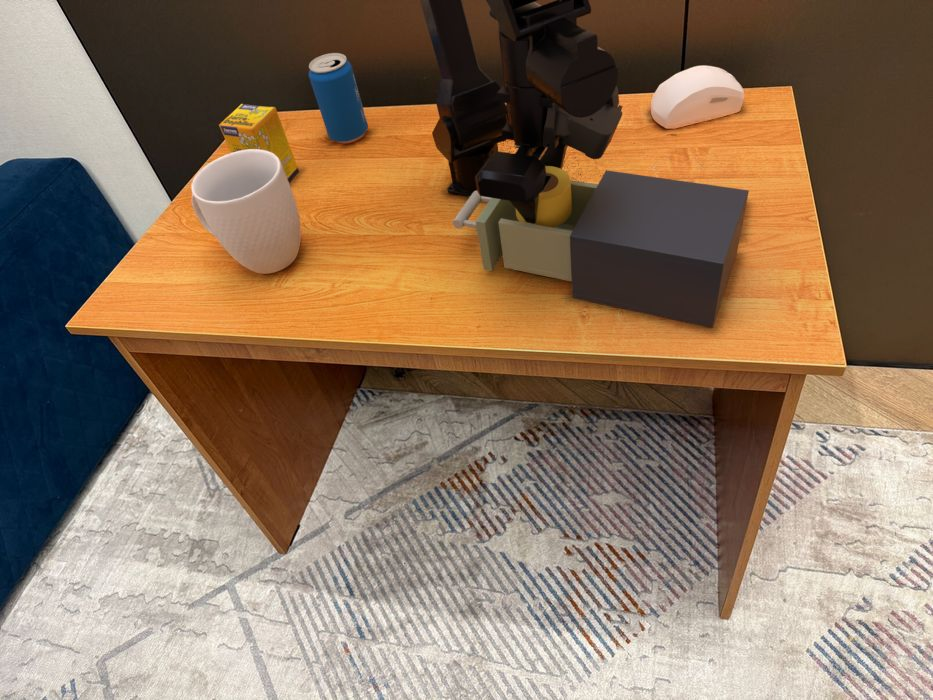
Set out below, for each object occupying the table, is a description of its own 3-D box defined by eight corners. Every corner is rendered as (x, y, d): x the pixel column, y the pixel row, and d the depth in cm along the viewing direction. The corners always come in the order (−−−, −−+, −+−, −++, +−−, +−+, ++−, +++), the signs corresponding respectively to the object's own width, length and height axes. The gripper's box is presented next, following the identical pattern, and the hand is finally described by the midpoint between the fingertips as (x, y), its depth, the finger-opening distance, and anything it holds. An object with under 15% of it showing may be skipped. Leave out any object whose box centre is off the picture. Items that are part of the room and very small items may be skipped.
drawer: (448, 262, 85) (438, 214, 80) (485, 209, 91) (478, 161, 86) (599, 294, 78) (599, 243, 72) (628, 234, 84) (630, 183, 79)
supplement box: (246, 190, 104) (217, 125, 96) (268, 167, 108) (241, 102, 100) (279, 195, 102) (252, 128, 94) (300, 171, 106) (275, 105, 98)
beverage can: (366, 143, 108) (346, 69, 99) (326, 148, 109) (302, 75, 100) (371, 121, 113) (351, 49, 104) (332, 126, 113) (309, 54, 104)
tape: (507, 224, 79) (503, 194, 76) (528, 191, 83) (525, 162, 80) (560, 233, 77) (558, 204, 74) (579, 199, 80) (578, 169, 77)
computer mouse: (747, 111, 99) (755, 69, 94) (660, 133, 99) (663, 91, 94) (727, 90, 103) (733, 49, 99) (643, 111, 103) (645, 71, 98)
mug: (194, 274, 92) (146, 193, 83) (239, 223, 99) (200, 142, 89) (286, 292, 87) (247, 207, 78) (329, 236, 94) (297, 152, 84)
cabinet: (572, 297, 79) (569, 235, 73) (605, 232, 86) (605, 169, 79) (712, 328, 73) (723, 263, 67) (736, 255, 80) (749, 190, 73)
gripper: (579, 134, 59) (582, 270, 71) (641, 34, 70) (635, 167, 81) (463, 120, 64) (484, 251, 75) (538, 28, 74) (546, 155, 86)
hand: (542, 204), depth 79 cm, fingers closed on tape, 6 cm apart
